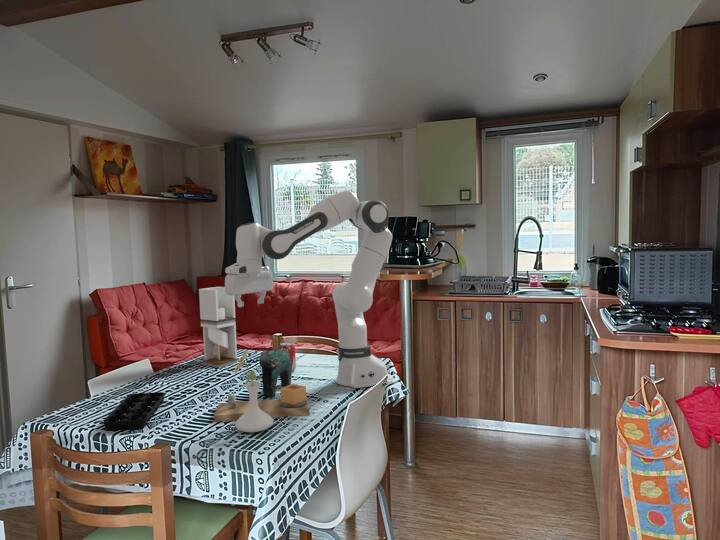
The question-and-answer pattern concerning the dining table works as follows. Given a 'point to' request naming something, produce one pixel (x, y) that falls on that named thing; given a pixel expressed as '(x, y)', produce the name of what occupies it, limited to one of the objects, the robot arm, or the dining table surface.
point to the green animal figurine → (275, 369)
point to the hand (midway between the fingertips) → (251, 305)
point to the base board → (270, 407)
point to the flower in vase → (252, 405)
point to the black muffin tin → (134, 411)
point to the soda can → (290, 352)
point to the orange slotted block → (293, 394)
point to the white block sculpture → (218, 327)
